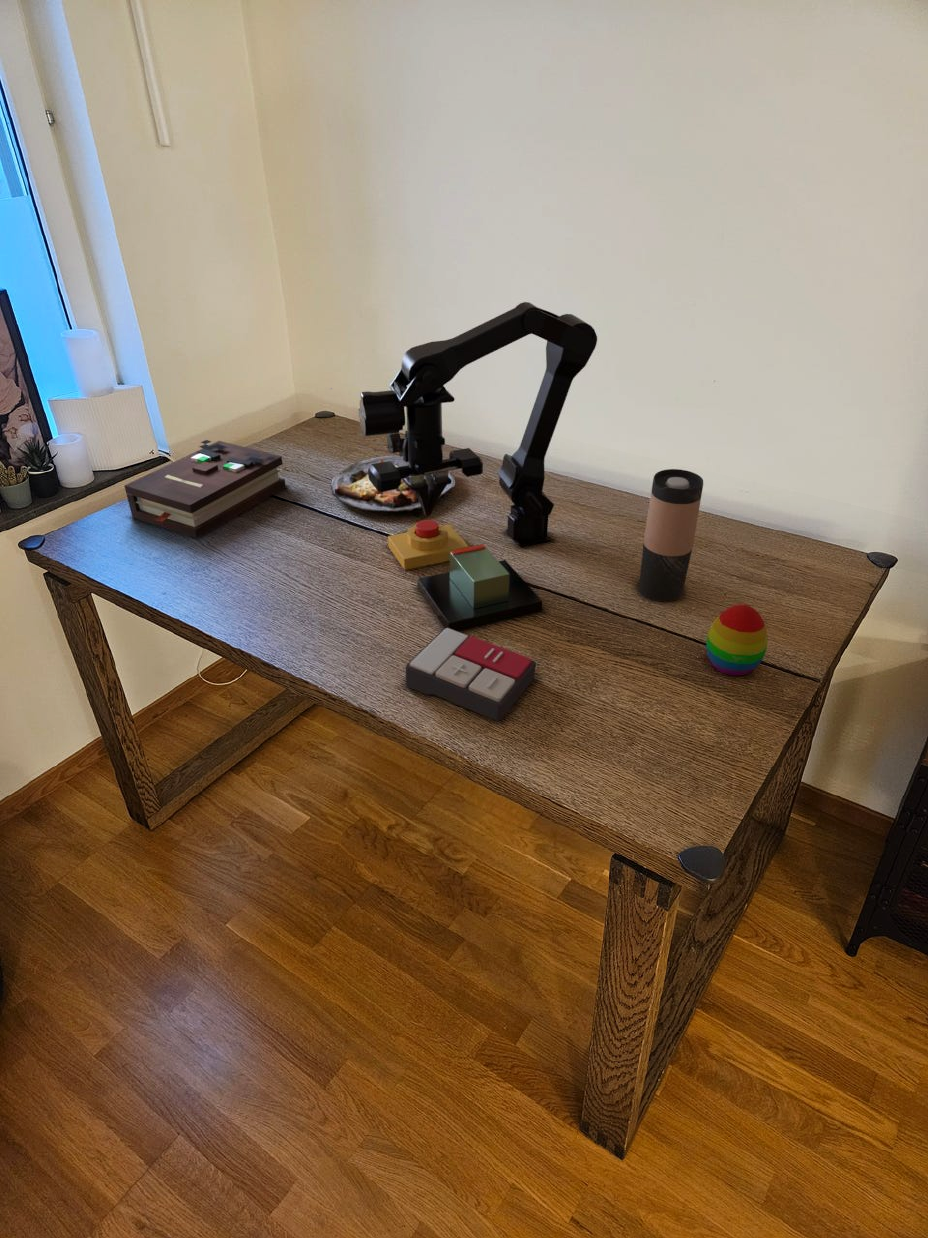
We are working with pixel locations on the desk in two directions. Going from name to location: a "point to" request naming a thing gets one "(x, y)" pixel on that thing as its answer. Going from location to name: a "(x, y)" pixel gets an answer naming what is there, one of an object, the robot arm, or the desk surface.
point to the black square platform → (463, 616)
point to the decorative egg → (737, 640)
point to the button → (427, 529)
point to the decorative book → (205, 488)
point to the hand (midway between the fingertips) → (427, 514)
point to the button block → (425, 547)
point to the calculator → (470, 673)
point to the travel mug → (669, 533)
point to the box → (479, 576)
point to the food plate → (365, 496)
